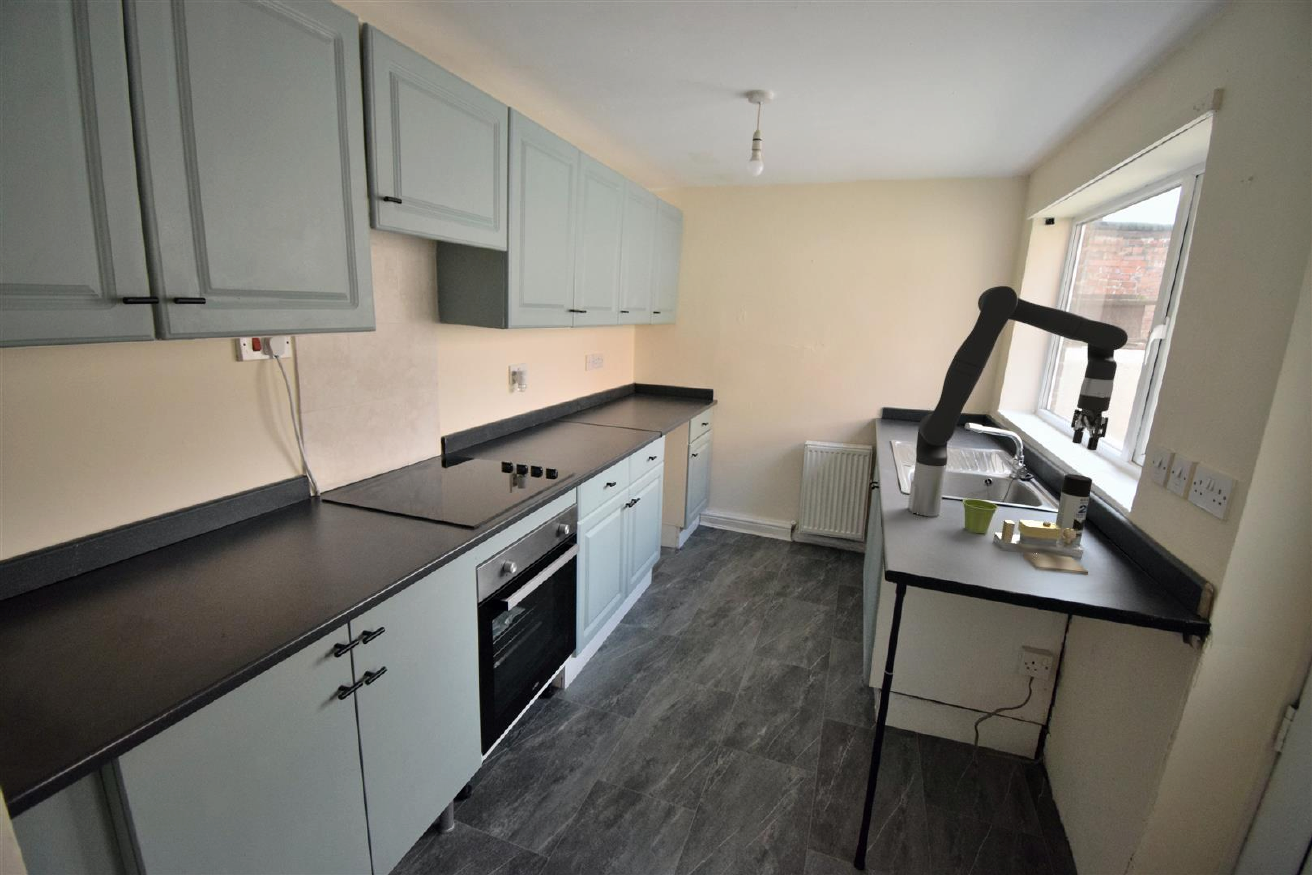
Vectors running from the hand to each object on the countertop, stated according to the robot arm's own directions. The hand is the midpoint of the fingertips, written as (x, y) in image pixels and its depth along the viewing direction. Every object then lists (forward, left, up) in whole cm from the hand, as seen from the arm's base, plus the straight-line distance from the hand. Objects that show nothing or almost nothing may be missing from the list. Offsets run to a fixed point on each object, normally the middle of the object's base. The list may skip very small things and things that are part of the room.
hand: (1083, 446), depth 171 cm
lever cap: (-17, -21, -22) cm, 35 cm away
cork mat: (-16, -31, -27) cm, 44 cm away
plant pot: (-29, -10, -27) cm, 41 cm away
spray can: (-5, -12, -27) cm, 30 cm away
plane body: (-17, -21, -27) cm, 38 cm away
